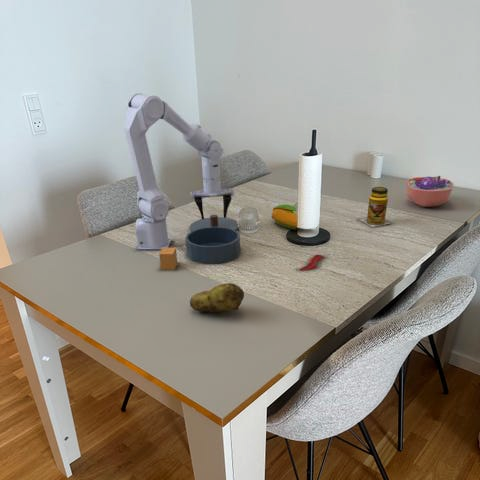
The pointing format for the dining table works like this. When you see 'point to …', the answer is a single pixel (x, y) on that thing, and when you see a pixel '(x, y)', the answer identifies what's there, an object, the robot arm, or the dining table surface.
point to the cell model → (429, 190)
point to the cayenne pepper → (312, 262)
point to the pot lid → (214, 223)
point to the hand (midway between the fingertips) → (213, 217)
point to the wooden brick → (168, 258)
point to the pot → (213, 245)
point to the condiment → (377, 207)
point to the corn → (285, 216)
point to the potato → (218, 298)
